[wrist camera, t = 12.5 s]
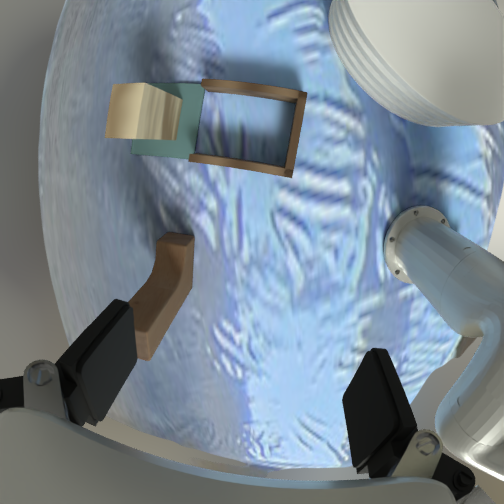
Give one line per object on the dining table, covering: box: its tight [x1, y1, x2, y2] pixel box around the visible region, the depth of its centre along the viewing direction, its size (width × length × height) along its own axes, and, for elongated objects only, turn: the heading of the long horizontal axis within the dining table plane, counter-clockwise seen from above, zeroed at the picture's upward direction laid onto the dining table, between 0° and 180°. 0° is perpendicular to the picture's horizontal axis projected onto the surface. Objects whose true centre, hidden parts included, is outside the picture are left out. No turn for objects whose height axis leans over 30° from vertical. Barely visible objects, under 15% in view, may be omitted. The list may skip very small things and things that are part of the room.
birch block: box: [105, 83, 183, 140], centre depth 29 cm, size 4×6×12 cm, turn 171°
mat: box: [131, 83, 205, 159], centre depth 35 cm, size 10×11×1 cm
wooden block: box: [128, 232, 195, 361], centre depth 34 cm, size 9×4×18 cm, turn 173°
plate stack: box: [329, 0, 504, 127], centre depth 22 cm, size 28×28×12 cm
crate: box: [188, 79, 307, 178], centre depth 33 cm, size 13×11×4 cm
